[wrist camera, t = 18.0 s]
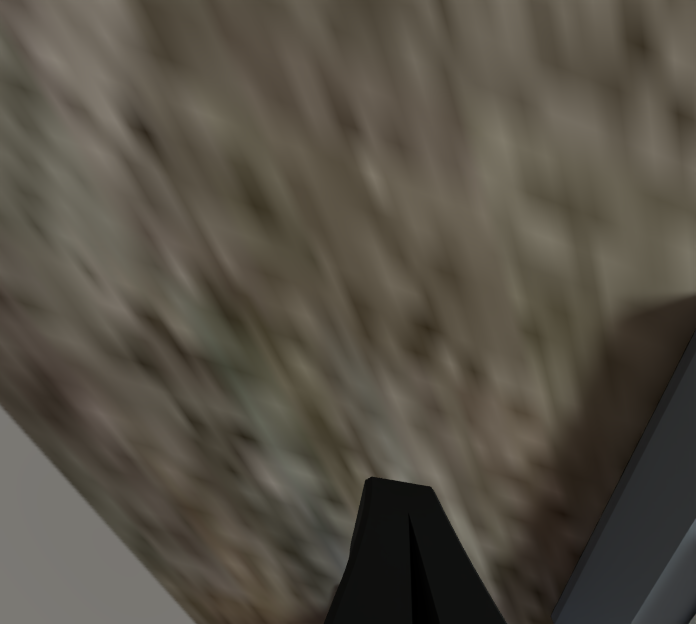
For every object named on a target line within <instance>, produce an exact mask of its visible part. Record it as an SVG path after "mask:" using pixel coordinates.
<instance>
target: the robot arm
mask: <svg viewBox="0 0 696 624" xmlns="http://www.w3.org/2000/svg"><path fill="white" fill-rule="evenodd" d="M324 624H507V623H506V621H505V619H504V618H503V616H502V615H501V613H500V611H499V610H498V608H497V606H496V605H495V603H494V601H493V599H492V598H491V596H490V594H489V593H488V591H487V589H486V587H485V586H484V584H483V582H482V580H481V579H480V577H479V575H478V573H477V572H476V570H475V568H474V567H473V565H472V563H471V561H470V559H469V557H468V556H467V554H466V552H465V550H464V548H463V546H462V544H461V543H460V541H459V539H458V537H457V535H456V533H455V531H454V529H453V527H452V525H451V524H450V522H449V520H448V518H447V516H446V514H445V512H444V510H443V508H442V506H441V504H440V502H439V500H438V498H437V496H436V494H435V492H434V490H433V489H432V487H430V486H424V485H418V484H412V483H406V482H400V481H394V480H389V479H383V478H377V477H370V478H368V479H366V480H365V484H364V488H363V492H362V497H361V501H360V506H359V510H358V514H357V519H356V523H355V528H354V532H353V536H352V541H351V546H350V555H349V560H348V563H347V566H346V569H345V572H344V574H343V577H342V580H341V582H340V585H339V587H338V590H337V592H336V595H335V597H334V600H333V602H332V605H331V607H330V610H329V612H328V614H327V617H326V619H325V622H324Z"/></svg>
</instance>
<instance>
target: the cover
mask: <svg viewBox="0 0 696 624" xmlns="http://www.w3.org/2000/svg"><path fill="white" fill-rule="evenodd" d="M689 624H696V614H695V616H694V617H693V618H692V620H691V621H690V622H689Z"/></svg>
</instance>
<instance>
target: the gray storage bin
mask: <svg viewBox="0 0 696 624" xmlns="http://www.w3.org/2000/svg"><path fill="white" fill-rule="evenodd" d="M695 614H696V331H695V333H694V335H693V337H692V339H691V340H690V342H689V344H688V346H687V348H686V350H685V352H684V354H683V356H682V358H681V360H680V362H679V364H678V366H677V368H676V370H675V372H674V374H673V376H672V378H671V380H670V382H669V384H668V386H667V388H666V390H665V392H664V394H663V396H662V398H661V400H660V402H659V404H658V406H657V408H656V410H655V411H654V413H653V415H652V417H651V419H650V421H649V423H648V425H647V427H646V429H645V431H644V433H643V435H642V437H641V439H640V441H639V443H638V445H637V447H636V449H635V451H634V453H633V455H632V457H631V459H630V461H629V463H628V465H627V467H626V469H625V471H624V473H623V475H622V477H621V479H620V481H619V483H618V484H617V486H616V488H615V490H614V492H613V494H612V496H611V498H610V500H609V502H608V504H607V506H606V508H605V510H604V512H603V514H602V516H601V518H600V520H599V522H598V524H597V526H596V528H595V530H594V532H593V534H592V536H591V538H590V540H589V542H588V544H587V546H586V548H585V550H584V552H583V554H582V556H581V557H580V559H579V561H578V563H577V565H576V567H575V569H574V571H573V573H572V575H571V577H570V579H569V581H568V583H567V585H566V587H565V589H564V591H563V593H562V595H561V597H560V599H559V601H558V603H557V605H556V607H555V609H554V611H553V613H552V615H551V618H552V620H553V623H554V624H689V622H690V621H691V620H692V618H693V617H694V616H695Z"/></svg>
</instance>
